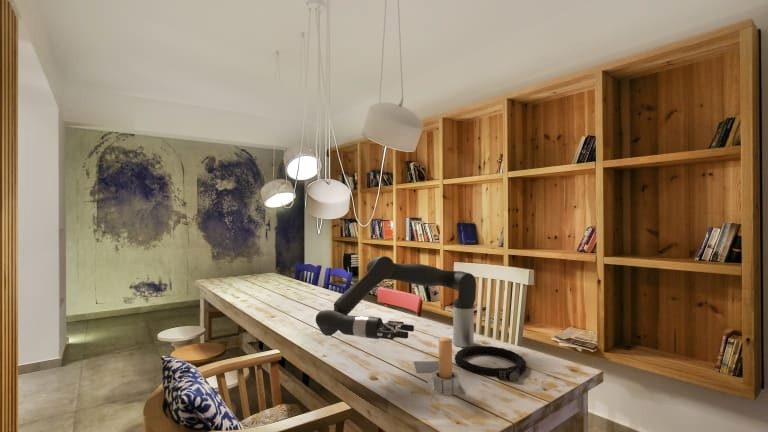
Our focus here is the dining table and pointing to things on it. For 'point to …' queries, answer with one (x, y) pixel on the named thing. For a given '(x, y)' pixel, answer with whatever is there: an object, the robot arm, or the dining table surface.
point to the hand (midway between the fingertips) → (411, 331)
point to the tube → (445, 358)
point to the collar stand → (445, 385)
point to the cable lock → (503, 373)
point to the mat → (426, 366)
